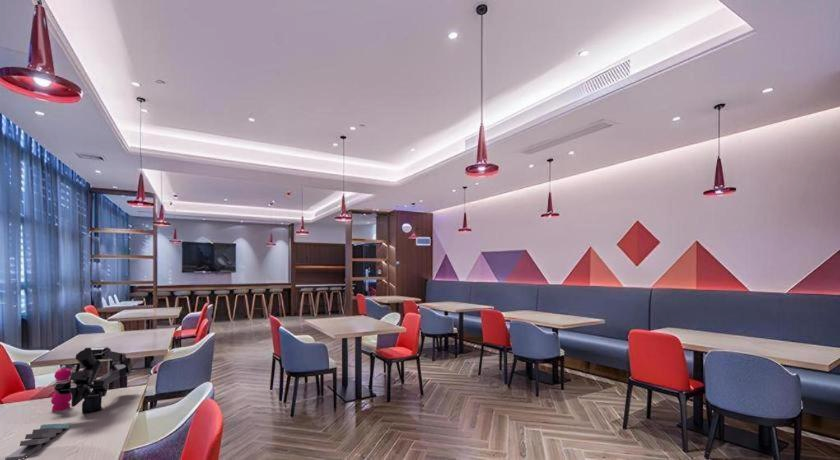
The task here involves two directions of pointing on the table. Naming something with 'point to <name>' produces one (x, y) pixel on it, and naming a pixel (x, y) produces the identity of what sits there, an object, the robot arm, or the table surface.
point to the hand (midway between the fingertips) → (72, 406)
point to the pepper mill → (59, 400)
